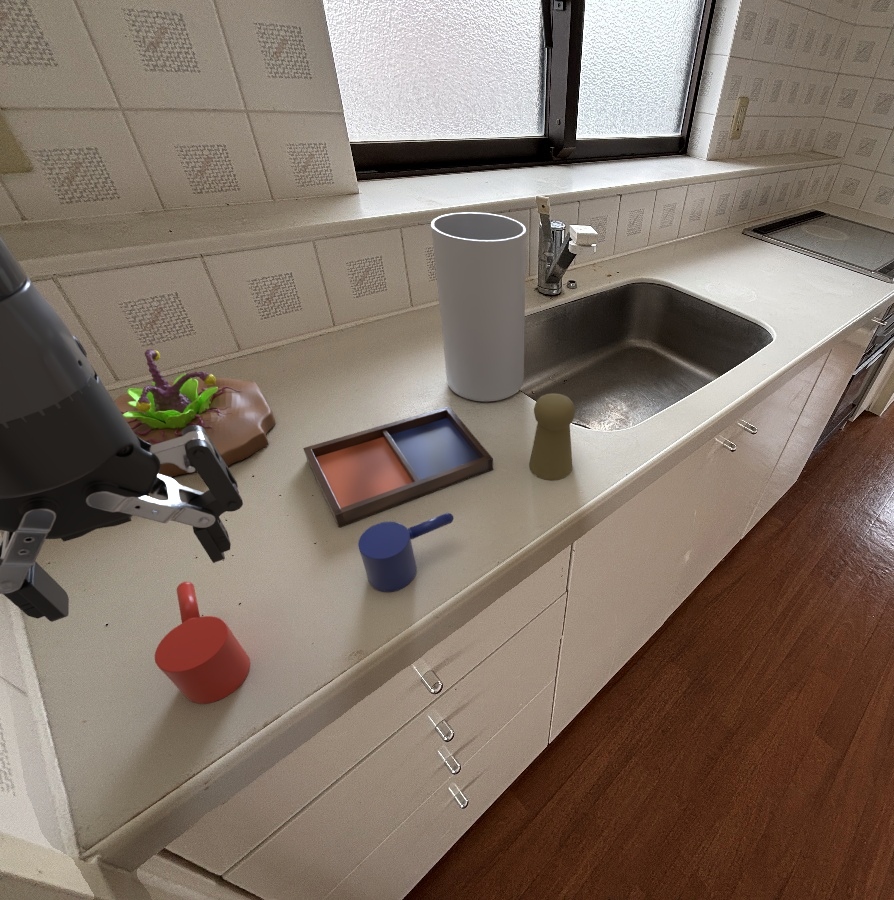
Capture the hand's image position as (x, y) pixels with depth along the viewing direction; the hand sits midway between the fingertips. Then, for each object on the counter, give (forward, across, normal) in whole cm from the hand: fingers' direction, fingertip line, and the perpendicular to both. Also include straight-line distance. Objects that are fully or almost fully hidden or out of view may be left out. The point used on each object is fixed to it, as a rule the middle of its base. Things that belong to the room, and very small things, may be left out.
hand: (145, 579), depth 34 cm
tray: (+14, +23, +18) cm, 32 cm away
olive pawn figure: (+14, +40, +8) cm, 43 cm away
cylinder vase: (+14, +42, +32) cm, 54 cm away
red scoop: (+14, 0, +2) cm, 14 cm away
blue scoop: (+14, +18, +2) cm, 23 cm away
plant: (+14, +2, +38) cm, 41 cm away
